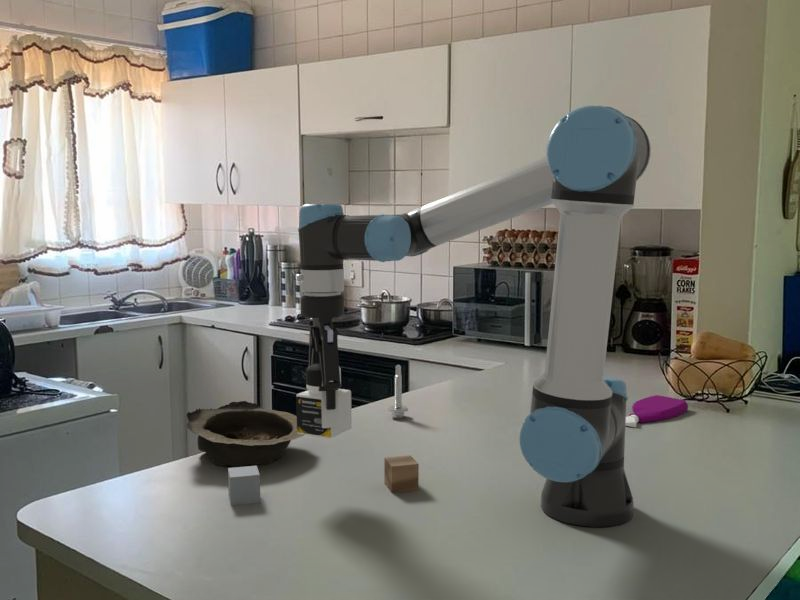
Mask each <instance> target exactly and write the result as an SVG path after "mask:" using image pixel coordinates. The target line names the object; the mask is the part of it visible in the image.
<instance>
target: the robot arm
mask: <svg viewBox="0 0 800 600" xmlns="http://www.w3.org/2000/svg"><path fill="white" fill-rule="evenodd" d="M546 144H547V145H546V156H545V157H542V158H539V159H538V160H535V161H532V162H530V163H528V164H525V165H522V166H520V167H517V168H515V169H513V170H510V171H507V172H506V173H505V172H504V173H502V174H500V175H498V176H495V177H492V178H490V179H487V180H485V181H483V182H480V183H478V184H475V185H473V186H469V187H466V188H465V189H461V190H460V191H457V192H455V193H452V194H450V195H447V196H446V197H445V196H444V197H443V198H439V199H437V200H435V201H433V202H430V203H428V204H425V205H423V206H421V207H418V208H415V209H413V210H409V211H408V212H405V213H402V214H384V213H383V214H373V215H372V214H371V215H370V214H369V215H368V214H365V215H360V214H359V215H348V214H347V215H346V214H344V210H343V206H342V205H341V204H339V203H305V204H303V205H301V207H300V209H299V213H298V214H299V218H298V229H297V232H298V240H299V244H298V245H299V260H300V265H299V269H300V270H299V272H300V274H297V275H296V280H297V281H299V282H300V284H299V285H300V291H301V292H302V293H303V294H302V295H301V296H300V298H299V299H300V315H301V316H302V317H304V318H306V319H307V318H309V320H308V327H309V336H308V337H309V340H308V341H309V342H308V343H309V344H308V347H309V348H308V366H307V367H309V366H311V365H313V364H317V363H320V367H321V376H322V385H323V386H322V387H319V391H321V408H322V428H333V427H338V389H342V388H341V387H342V382H341V383H340V372H339V367H340V359H339V358H340V357H339V347H338V345H339V343H338V338H339V337H338V336H339V331H338V329H337V328H336V326H333V325H334V324H333V318H339V317H342V316H343V315H344V314H345V296H344V295H343V294H342V292H344V291H345V268H344V261H347V260H348V261H349V260H351V261H352V260H353V261H356V260H357V261H374V262H380V263H385V262H398V261H399V262H400V261H402V260H403V259H404V258H405V257H418V256H421V255H423V254H425V253H427V252H429V250H431V249H433V248H436V247H437V246H440V245H444V244H446V243H448V242H451V241H454V240H457V239H460V238H463V237H465V236H468V235H470V234H474V233H475V232H479V231H481V230H484V229H486V228H487V229H488V228H490V227H492V226H493V227H494V226H496V225H498V224H501V223H503V222H507V221H509V220H512V219H514V218H517V217H520V216H523V215H525V214H528V213H531V212H534V211H537V210H539V209H542V208H545V207H547V206H551V205H554V207H555V208H556V209H557V210H558V212H559V224H558V230H557V231H558V233H557V242H556V243H557V244H556V254H555V261H554V263H555V264H554V273H553V285H552V293H551V294H552V295H551V303H550V305H551V306H550V314H549V322H548V323H549V324H548V335H547V344H546V356H545V365H544V373H543V374H542V375H539V376H538V377H537V378H536V379H535V380H534V381H533V385H532V393H531V394H532V396H531V402H530V403H531V404H530V413H529V414H528V415H527V416H526V418H525V419H524V421H523V423H522V426H521V428H520V432H519V447H520V451H521V454H522V456H523V458H524V460H525V461H526V462H527V463H528V464H529V466H530V467H531V468H532V469H533V470H534V471H535V472H536V473H537V474H539V475H540V476H542V477H543V478H545V482H544V485H543V488H542V490H541V495H540V508H541V510H542V512H543V513H544V514H546V515H547V516H549V517H551V518H553V520H554V519H555V520H557V521H560V522H563V523H566V524H570V525H575V526H583V527H594V528H595V527H596V528H602V527H603V528H604V527H613V526H619V525H621V524H624V523H626V522H629V521H630V520H631V519H632V518H633V516H634V505H635V503H634V498H633V494H632V490H631V488H630V484H629V481H628V477H627V474H626V471H625V449H626V448H625V447H626V446H625V445H626V444H625V443H626V426H625V423H626V416H627V414H626V413H627V401H628V400H629V398H628V395H627V394H628V393H627V384H626V382H625V381H624V380H623V379H621V378H618V377H614V376H608V375H605V366H606V359H607V358H606V356H607V350H608V349H607V347H608V339H609V330H610V322H611V313H612V312H611V311H612V304H613V296H614V295H613V292H614V285H615V277H616V276H615V275H616V274H615V273H616V266H617V258H618V257H617V256H618V248H619V240H620V230H621V223H622V222H621V220H622V218H623V217H624V215H626V214H627V213H628V212H629V211H630V210H631V209H633V208H634V203H635V197H636V196H635V195H636V189H637V188H636V187H637V181H638V180H640V178H641V177H642V176H643V174H644V173H645V171H646V170H647V168H648V165H649V162H650V159H651V142H650V139H649V135H648V134H647V132H646V130H645V129H644V128H643V126H642V125H641V124H640V123H639V122H638V121H637V120H635V119H634V118H632V117H630V116H627V115H625V114H624V113H623V112H622V111H620V110H618V109H616V108H613V107H612V106H611V107H610V106H603V105H586V106H581V107H578V108H576V109H573V110H572V111H570V112H568V113H567V114H565V115H564V116H563V117H562V118H561V119H560V120H558V122H557V123H556V124H555V126H554V127H553V129H552V131H551V133H550V135H549V137H548V140H547V143H546ZM329 381H333V382H329Z"/></svg>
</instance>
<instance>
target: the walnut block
mask: <svg viewBox="0 0 800 600" xmlns="http://www.w3.org/2000/svg"><path fill="white" fill-rule="evenodd" d="M383 460H384V461H383V462H384V463H383V464H384V466H383V467H384V469H383V470H384V474H383V475H384V477H383V479H384V480H383V482H384V485H385V486H386V487H387V488H388V490H389V492H390V493H391V494H395V493H404V492H405V493H406V492H415V491H419V474H420V473H419V467H420V466H419V463H418V461H416V459H415V458H413V456H412V455H401V456H400V455H399V456H388V457H387V456H386V457H384V458H383Z"/></svg>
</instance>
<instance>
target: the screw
mask: <svg viewBox="0 0 800 600" xmlns="http://www.w3.org/2000/svg"><path fill="white" fill-rule="evenodd" d="M402 378H403V377H402V366H401V365H400V364H397V365H395V375H394V378H393V379H394V405H391V406H389V407H388V409H387V410H388V412H390V413H391V415H392V418H393V419H403V418H404V417H405V413H406V412H408V411H409V407H408V406H405V405H403V403H402V402H403V396H402V395H403V394H402V393H403V391H402V390H403V384H402V383H403V382H402V381H403V379H402Z"/></svg>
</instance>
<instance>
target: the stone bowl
mask: <svg viewBox="0 0 800 600" xmlns="http://www.w3.org/2000/svg"><path fill="white" fill-rule="evenodd" d="M186 418H187V423H186V428H187V429H188V430H190V432H192V433H193V434H195V435H197V449H198V450H199V451H200V452H203V453H206V454H207V455H208V458H209V459H210V460H211V462H212V463H213V464H215V465H217V466H220V467H229V466H231V467H233V468H235V467H245V466H249V465H264V466H265V465H268V464H270V463H271V462H274V461H277V460H278V459H280V458H282V457H283V456H284V453H285V451H286V449H287V448H288V447H289V445H290V443H291V442H292V441H293V440H297V439H299V438H301V437H302V438H303V437H304V436H305V435H303V434H298V433H297V415H295V414H293V413H290V412H287V411H279V410H276V409H264V408H263V407H262V406H260V405H259V404H258V403H256V402H255V403H254V402H253V403H252V402H249V401H246V400H242V401H241V400H240V401H231V402H229V404H225V405H221V406H220V407H218V408H213V407H211V408H196V409H195V411H194V410H193V411H190V412H189V411H188V412H187V413H186Z"/></svg>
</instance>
